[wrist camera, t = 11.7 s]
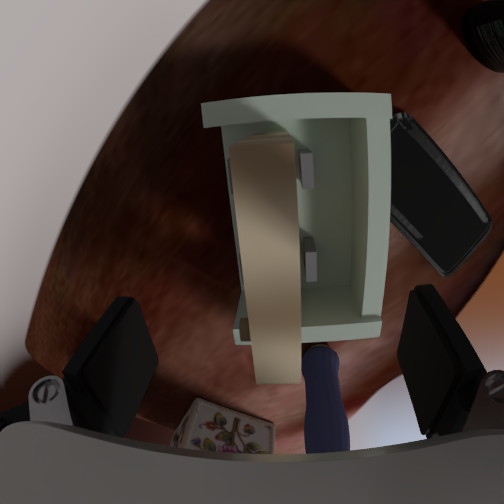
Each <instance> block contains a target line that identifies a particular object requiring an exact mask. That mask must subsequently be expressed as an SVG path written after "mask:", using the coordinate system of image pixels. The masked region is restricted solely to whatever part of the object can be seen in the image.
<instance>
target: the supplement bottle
mask: <svg viewBox="0 0 504 504" xmlns="http://www.w3.org/2000/svg"><path fill="white" fill-rule="evenodd" d="M462 26H463V33H464V37H465V40H466V42H467V45H468V47H469V48H470V50H471V52H472V53H473V55H474V56H475V57H476V58H477V60H478V61H479V62H480V63H481V64H483V65H484V66H485V67H487V68H488V69H490V70H492V71H495V72H500V73H504V0H487V1H485V2H482V3H480V4H478V5H476V6H473V7H472V8H470V9H469V10H467V12H466V13H465V15H464V17H463V24H462Z"/></svg>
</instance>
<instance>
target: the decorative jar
mask: <svg viewBox="0 0 504 504" xmlns="http://www.w3.org/2000/svg"><path fill="white" fill-rule="evenodd" d="M274 444H275V425H274V424H273V423H270V422H267V421H263V420H261V419H258V418H255V417H252V416H249V415H246V414H243V413H240V412H237V411H234V410H231V409H228V408H225V407H222V406H219V405H217V404H214V403H211V402H209V401H206V400H204V399H201V398H196V399H195V400H194V401H193V403H192V405H191V406H190V408H189V410H188V411H187V413H186V415H185V416H184V417H183V419H182V421H181V422H180V424H179V426H178V428H177V429H176V431H175V432H174V434H173V437H172V440H171V443H170V446H171V447H178V448H186V449H194V450H203V451H214V452H227V453H244V454H274V446H275V445H274Z"/></svg>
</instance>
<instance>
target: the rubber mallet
mask: <svg viewBox="0 0 504 504" xmlns="http://www.w3.org/2000/svg"><path fill="white" fill-rule="evenodd" d="M338 369H339V357H338V355H337V353H336V352H335V351H334V350H332V349H331V348H330V347H329V346H327V345H325V344H317V345H314V346H312V347H310V348H309V349H308V350H307V351H306V352H305V353H304V355H303V357H302V358H301V371H302V374H303V376H304V379H305V387H306V414H305V425H304V437H305V449H306V454H311V453H328V452H341V451H350V435H349V425H348V419H347V415H346V412H345V409H344V406H343V403H342V399H341V392H340V386H339V379H338Z"/></svg>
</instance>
